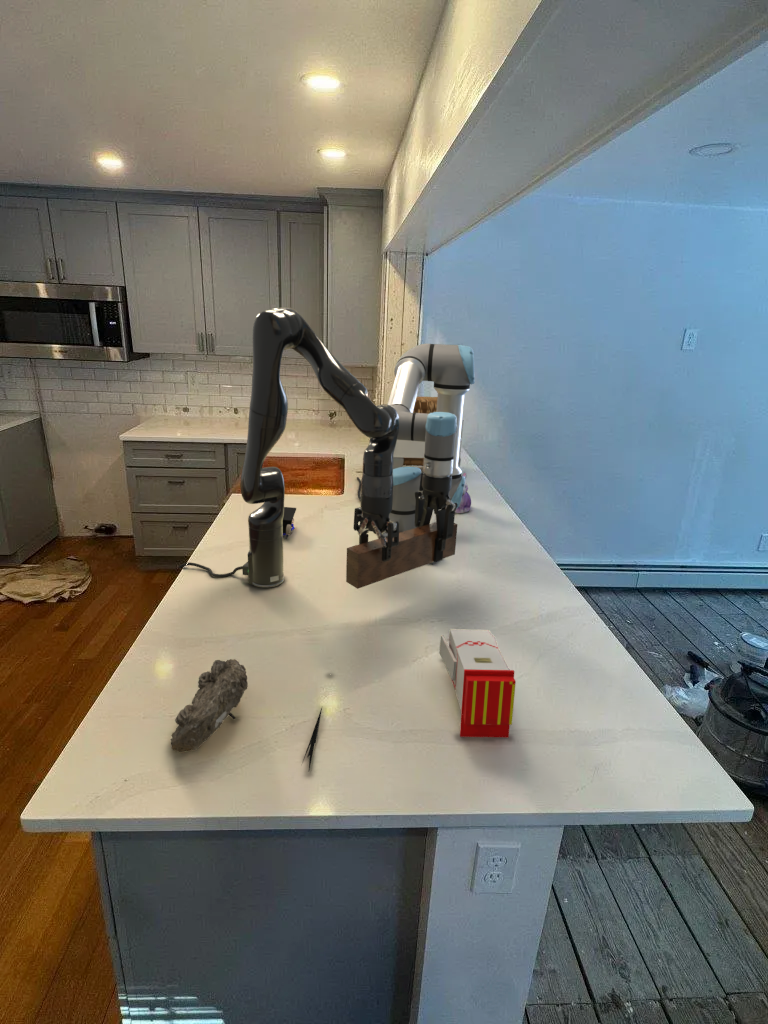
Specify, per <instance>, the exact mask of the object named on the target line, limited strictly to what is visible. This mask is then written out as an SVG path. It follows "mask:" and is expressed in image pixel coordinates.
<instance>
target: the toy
mask: <svg viewBox="0 0 768 1024" xmlns="http://www.w3.org/2000/svg"><path fill="white" fill-rule="evenodd" d="M438 654H439V656H440V658H441V660H442V662H443V665H444V666H445V668H446V671H447V673H448V675H449V677H450V681H451V683H452V685H453V689H454V690H455V695H456V698H457V702H458V705H459V708H460V726H459V737H460V738H509V737H510V728H511V727H510V726H512V725H513V717H514V706H515V705H514V704H515V693H516V684H517V683H516V679H515V670H514V669H510V667H509V666H508V663H507V662H506V660H505V658H504V655H503V654H502V652H501V650H500V648H499V644H498V642H497V638H496V635H495V634H492V632H491V631H490V629H467V628H466V629H465V628H463V629H461V628H460V629H459V628H450V629H449V631H448V641H447V639H446V638H445V636H444V634H443V635H442V634H441V635H440V641H439V651H438Z"/></svg>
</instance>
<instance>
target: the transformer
mask: <svg viewBox="0 0 768 1024" xmlns="http://www.w3.org/2000/svg"><path fill="white" fill-rule="evenodd" d="M437 397H438V396H418V395H417V396H416V401H415V405H414V409H413V413H426V414H430V413H433V412H436V410H437ZM386 404H388V402H387V403H386ZM463 431H464V419H463V418H462V425H461V436H460V447H459V459H458V467H459V468H460V469H461V462H462V458H461V452H462V443H463V442H462V438H463ZM424 454H425V442H421V441H409V440H397V442H396V446H395V450H394V454H393V469H396V468H400V467H416V466H417V467H423V466H424Z"/></svg>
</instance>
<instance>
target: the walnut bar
mask: <svg viewBox="0 0 768 1024" xmlns="http://www.w3.org/2000/svg"><path fill="white" fill-rule="evenodd" d="M458 526H459V525H458V523H456V522H454V528H453V537H452V538H449V539H446V545H445V550H443V559H446V558H449V557H452V556H454V555H455V554H456V545H457V532H458ZM436 538H438V535H437V524H436V521H435V522H432V523H431V522H430V524H428V525H424V526H421V527H417V528H414V529H410V530H407V531H404V532H400V533H399V545H398V546H394V547H392V552H391V559H390V560H389V561H386V562H384V561H382V547H383V545H382V543H381V540H380V539H378V538H376V539H372V540H370V541H369V540H368V542H366V543H362V544H359V543H358V544H356V545H352V546H349V547H346V566H345V567H346V570H345V571H346V572H345V582H346V583H347V584H349V585H350V586H351V587H354V588H356V589H357V590H359V589H361V588H365V587H366V586H369V585H372V584H375V583H378V582H381V581H385V580H386V579H389V578H393V577H395V576H398V575H401V574H403V573H406V572H409V571H412V570H416V569H418V568H421V567H423V566H426V565H430V564H429V563H432V562H434V548H435V539H436ZM385 540H386V542H388V540H387V538H385ZM393 541H394V538H393Z"/></svg>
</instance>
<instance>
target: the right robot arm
mask: <svg viewBox="0 0 768 1024" xmlns="http://www.w3.org/2000/svg"><path fill="white" fill-rule="evenodd" d="M474 352H475V351H474V349H473V347H471V346H469V345H463V344H462V345H461V344H443V343H427V342H426V343H421V344H420V343H419V344H418V345H415V346H412V347H411V348H409V349H408V350H407V351H405V352H404V353H403V354H401V356H400V357H399V358H398V360H397V361H396V363H395V365H394V366H395V367H394V370H393V373H394V377H395V378H394V381H393V385H392V387H391V391H390V394H389V398H388V401H387V403H388V404H387V403H386V404H387V405H390V406H392V407H393V408H394V409H395V410H396V411H397V413H398V416H399V432H398V437H397V440H409V441H421V442H425V454H424V466H422V467H423V469H421V468H420V467H419V466H417V467H416V466H403V467H400V468H396V469H393V503H392V511H391V512H390V514H389V519H390V521H392V522H396V521H398V523H399V533H400V532H404V531H407V530H410V529H414V528H417V527H421V526H424V525H428V524H431V520H432V517H433V515H435V522H436V524H437V535H438V538H436V539H435V548H434V562H435V563H437V562H440V561H443V560H444V558H443V550H445V545H446V539H449V538H452V537H453V528H454V523H455V516H456V512H455V511H456V509H457V508H458V507H459V505H460V502H461V498H462V494H463V489H464V484H465V477H464V476H463V474H462V473H463V471H462V469H461V467H460V468H459V467H458V459H459V447H460V440H461V438H460V436H461V425H462V419H463V414H464V413H463V412H464V403H465V395H466V394H467V393H468V392H469V391H470V388H471V385H474V384H475V382H476V381H475V379H476V378H475V353H474ZM422 382H433V389H434V390H435V391H436V393H437V396H436V397H437V410H436V412H433V413H430V414H426V413H413V409H414V405H415V401H416V396H417V397H418V392H419V388H420V384H421V383H422ZM356 480H357V482H358V489H357V498H358V500H359V501H360V502H361V481H362V480H361V479H360V478H359V477H358V476H357V477H356ZM382 534H386V531H384V532H383V533H382Z"/></svg>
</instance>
